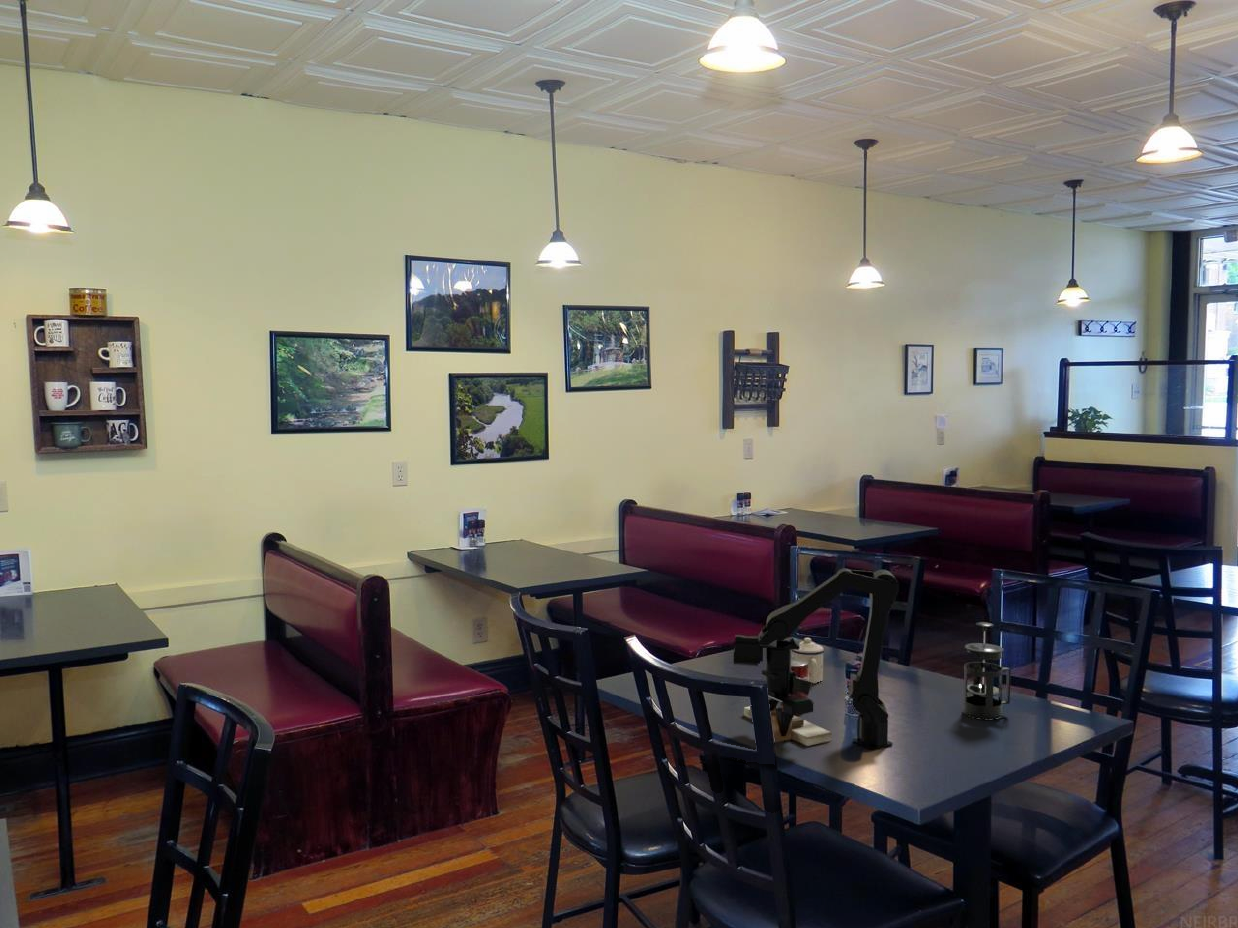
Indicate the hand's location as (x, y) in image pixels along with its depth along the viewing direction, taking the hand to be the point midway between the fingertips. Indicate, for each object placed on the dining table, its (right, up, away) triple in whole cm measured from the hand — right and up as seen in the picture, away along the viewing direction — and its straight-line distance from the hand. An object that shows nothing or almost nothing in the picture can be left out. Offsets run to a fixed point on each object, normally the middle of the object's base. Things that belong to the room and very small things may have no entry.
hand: (777, 732), depth 222 cm
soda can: (+8, 0, +21) cm, 23 cm away
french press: (+54, 0, +17) cm, 57 cm away
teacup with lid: (+16, +2, +45) cm, 48 cm away
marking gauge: (+2, -1, +1) cm, 3 cm away
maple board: (+3, -1, +7) cm, 8 cm away
